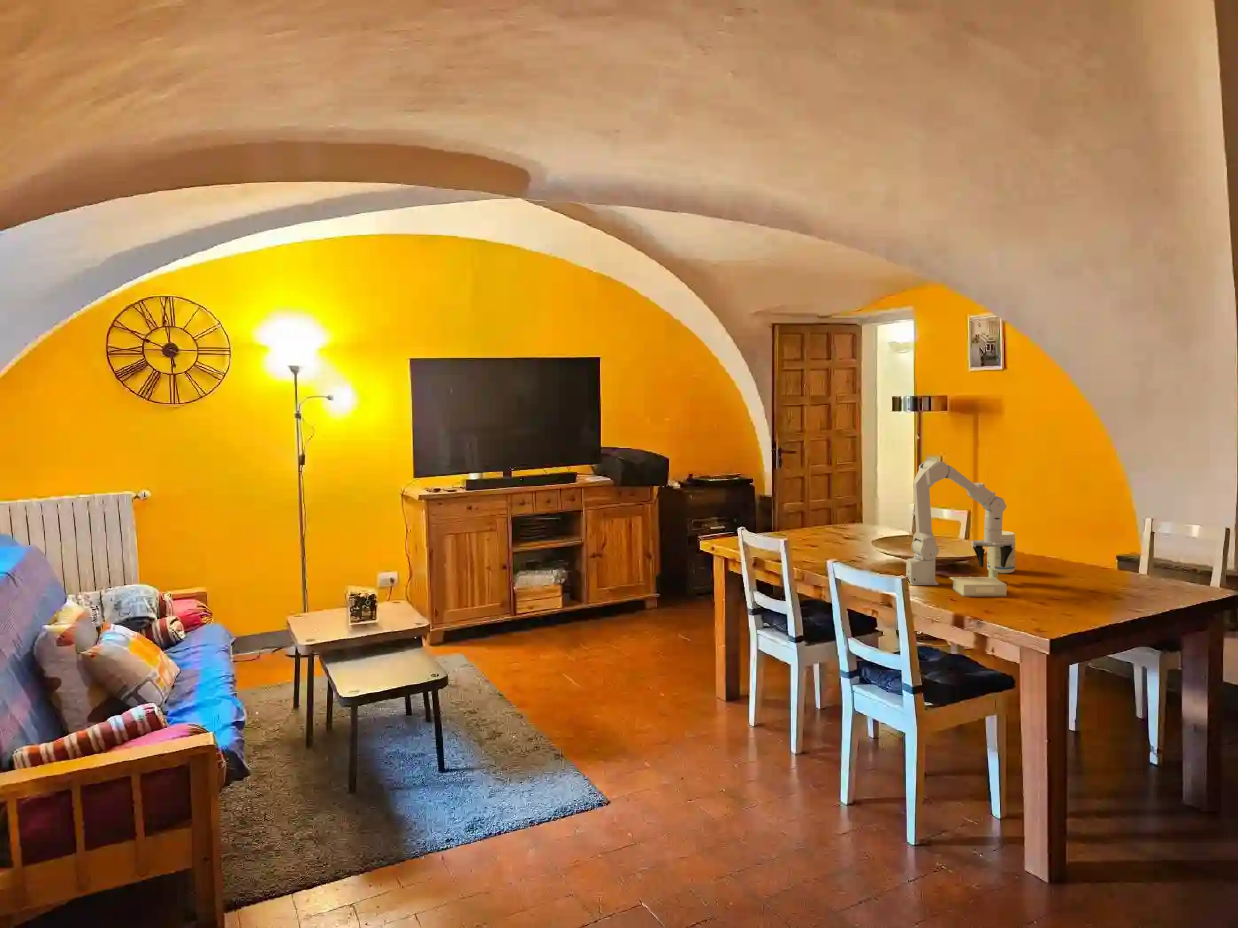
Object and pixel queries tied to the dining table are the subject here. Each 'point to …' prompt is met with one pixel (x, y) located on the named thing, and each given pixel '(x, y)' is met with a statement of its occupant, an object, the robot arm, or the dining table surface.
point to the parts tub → (979, 586)
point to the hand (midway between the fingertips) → (991, 566)
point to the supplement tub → (995, 555)
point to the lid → (991, 574)
